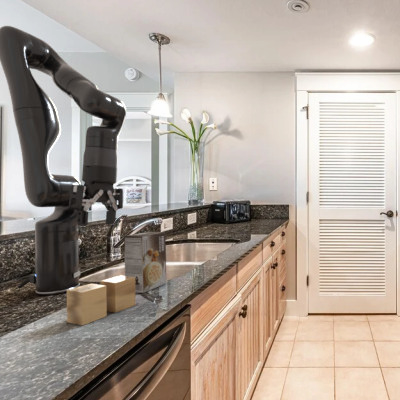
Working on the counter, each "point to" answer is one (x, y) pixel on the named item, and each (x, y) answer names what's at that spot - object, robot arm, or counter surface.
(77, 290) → the maple block near
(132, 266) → the printed cardboard box
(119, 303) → the maple block middle
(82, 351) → the counter surface
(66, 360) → the counter surface
